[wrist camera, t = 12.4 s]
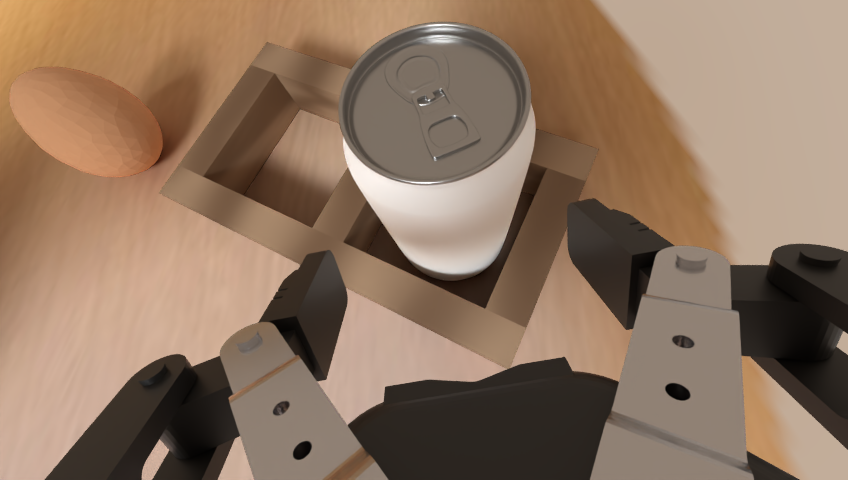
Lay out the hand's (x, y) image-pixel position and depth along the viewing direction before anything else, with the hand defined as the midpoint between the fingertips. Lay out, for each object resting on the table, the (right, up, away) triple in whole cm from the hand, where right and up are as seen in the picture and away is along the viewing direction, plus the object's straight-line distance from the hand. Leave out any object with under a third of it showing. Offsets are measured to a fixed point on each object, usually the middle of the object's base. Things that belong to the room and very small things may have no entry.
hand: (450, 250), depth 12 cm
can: (+1, +1, +10) cm, 10 cm away
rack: (-4, +3, +11) cm, 12 cm away
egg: (-22, +7, +15) cm, 27 cm away
